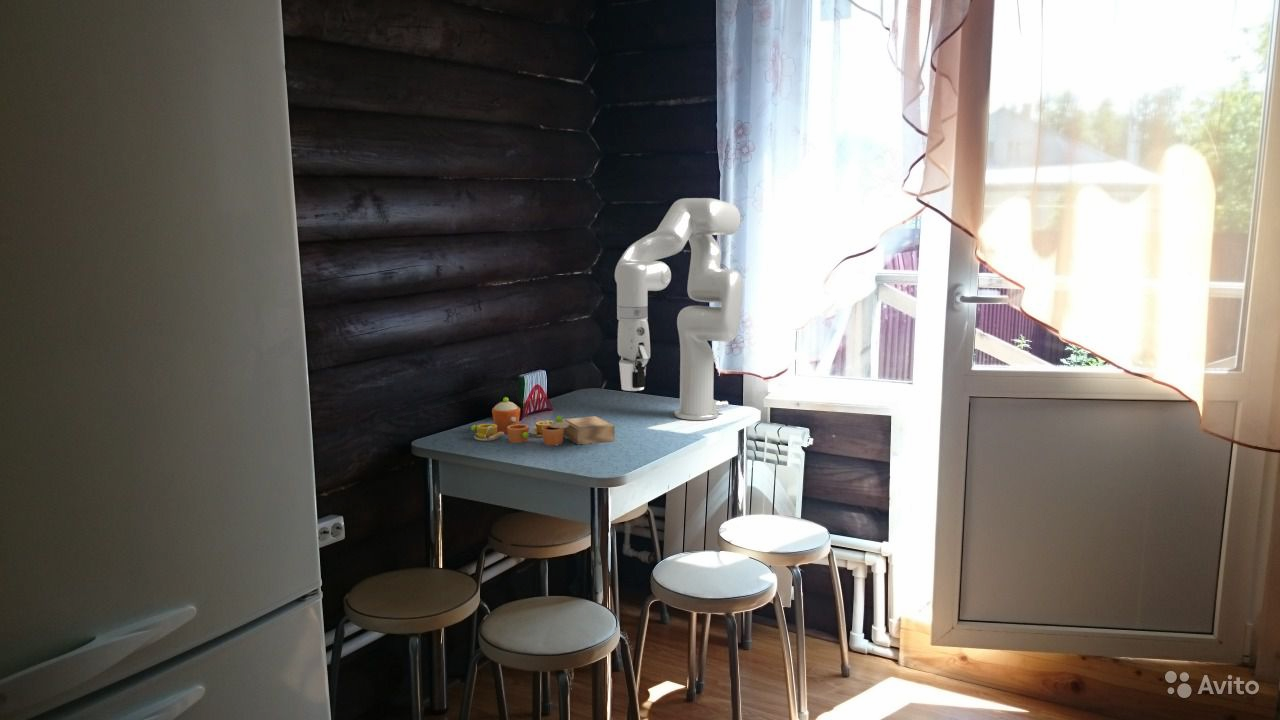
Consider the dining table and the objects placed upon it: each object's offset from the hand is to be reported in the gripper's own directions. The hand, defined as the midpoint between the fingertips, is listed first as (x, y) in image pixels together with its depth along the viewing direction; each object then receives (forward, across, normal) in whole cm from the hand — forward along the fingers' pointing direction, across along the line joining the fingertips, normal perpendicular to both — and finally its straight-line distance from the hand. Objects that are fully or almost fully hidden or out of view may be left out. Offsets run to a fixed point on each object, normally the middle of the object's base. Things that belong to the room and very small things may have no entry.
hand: (632, 384), depth 229 cm
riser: (+15, +11, +8) cm, 20 cm away
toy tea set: (+16, +18, +22) cm, 33 cm away
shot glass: (+1, 0, 0) cm, 1 cm away
